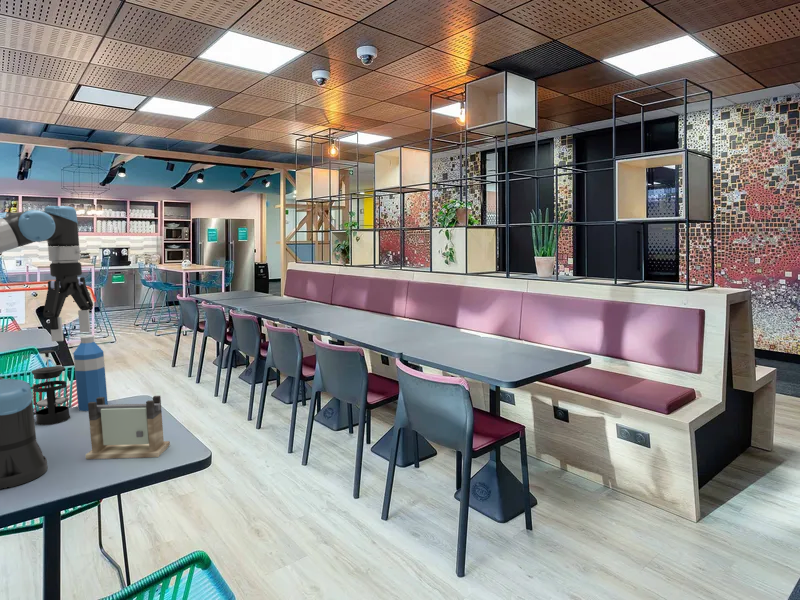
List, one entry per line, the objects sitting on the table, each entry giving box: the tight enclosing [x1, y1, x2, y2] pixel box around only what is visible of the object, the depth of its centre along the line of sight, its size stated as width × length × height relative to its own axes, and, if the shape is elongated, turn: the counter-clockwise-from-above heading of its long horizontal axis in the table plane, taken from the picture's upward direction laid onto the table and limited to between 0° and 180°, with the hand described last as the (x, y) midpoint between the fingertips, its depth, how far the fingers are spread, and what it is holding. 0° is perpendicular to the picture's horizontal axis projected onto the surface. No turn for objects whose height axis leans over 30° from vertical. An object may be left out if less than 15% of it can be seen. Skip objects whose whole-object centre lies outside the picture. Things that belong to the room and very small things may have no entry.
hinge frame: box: [84, 395, 171, 460], centre depth 144 cm, size 19×8×15 cm, turn 92°
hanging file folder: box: [97, 402, 162, 445], centre depth 144 cm, size 18×4×11 cm, turn 92°
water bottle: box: [72, 335, 109, 412], centre depth 183 cm, size 9×9×25 cm
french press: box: [30, 349, 71, 426], centre depth 170 cm, size 12×9×23 cm
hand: (72, 336), depth 151 cm, fingers open, 13 cm apart
